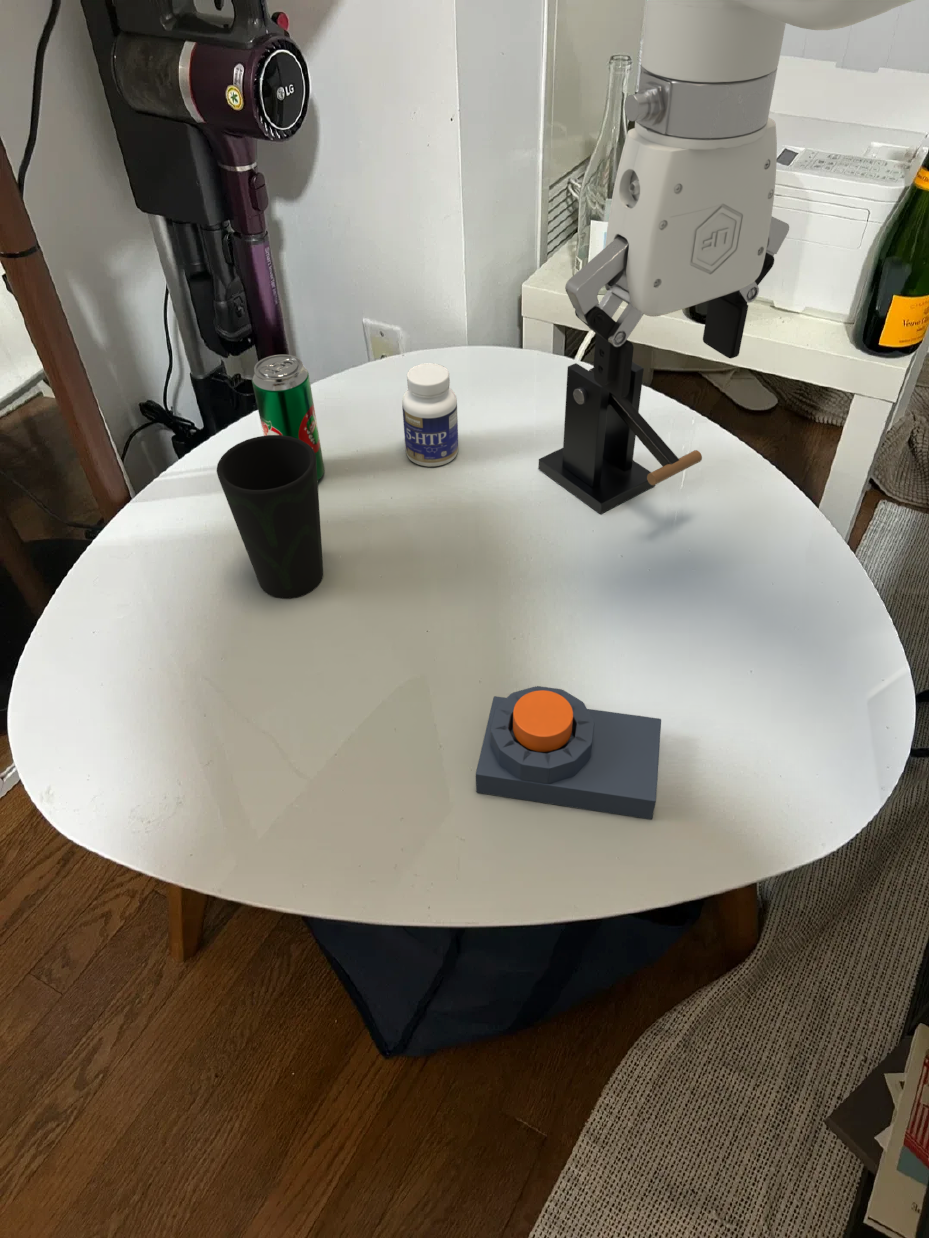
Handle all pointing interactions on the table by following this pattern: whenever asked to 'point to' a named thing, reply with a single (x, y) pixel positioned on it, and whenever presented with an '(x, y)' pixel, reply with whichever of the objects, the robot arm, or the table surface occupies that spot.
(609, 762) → the control block
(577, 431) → the switch bracket
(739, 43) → the robot arm
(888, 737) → the table surface
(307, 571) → the cup
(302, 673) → the table surface
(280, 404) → the soda can
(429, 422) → the pill bottle
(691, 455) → the lever
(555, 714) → the button
